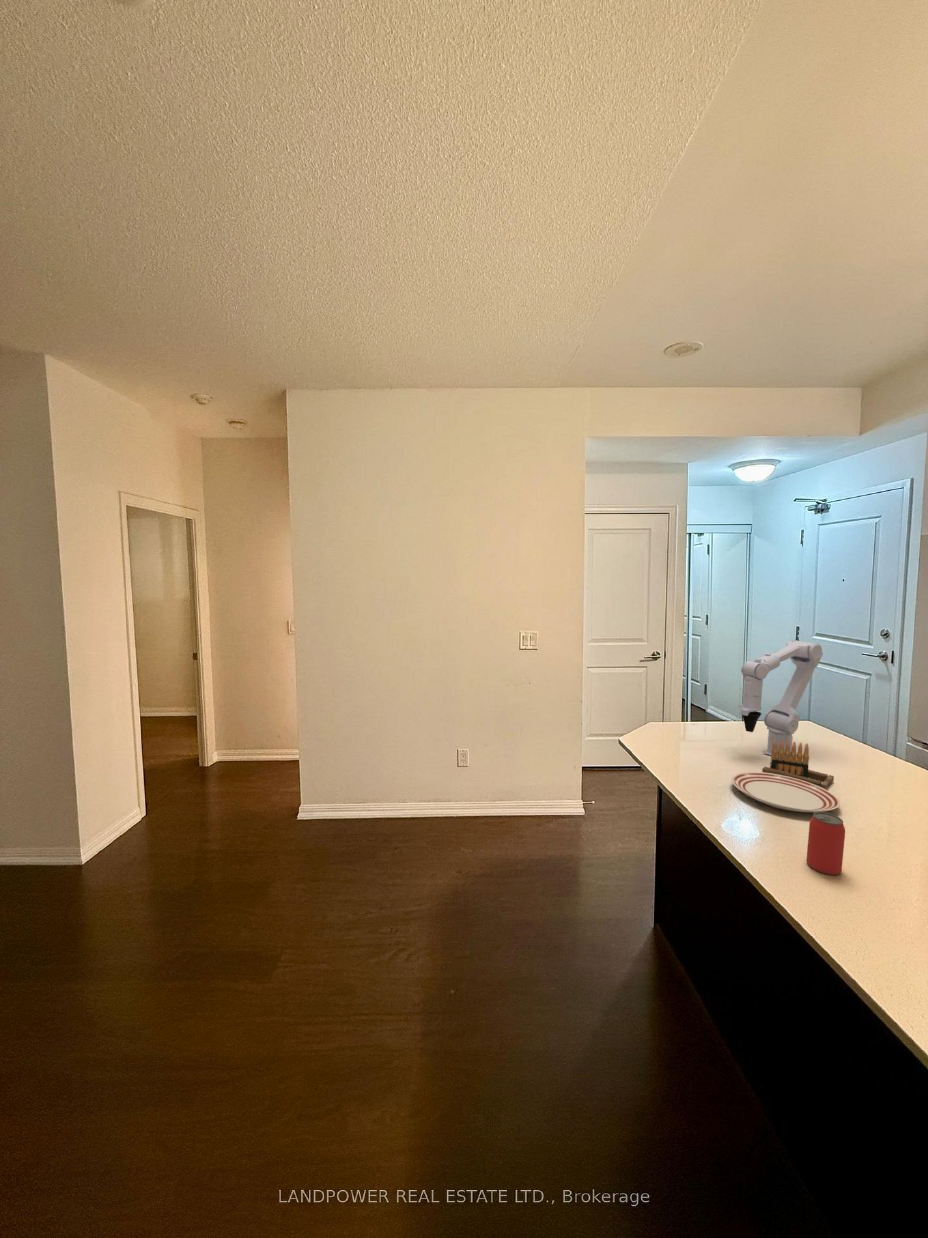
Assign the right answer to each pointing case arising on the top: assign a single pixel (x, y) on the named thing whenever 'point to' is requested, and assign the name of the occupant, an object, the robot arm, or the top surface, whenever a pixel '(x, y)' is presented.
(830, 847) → the beer can
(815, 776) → the guide rails
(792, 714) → the robot arm
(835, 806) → the dinner plate
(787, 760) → the ammunition clip
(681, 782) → the top surface
